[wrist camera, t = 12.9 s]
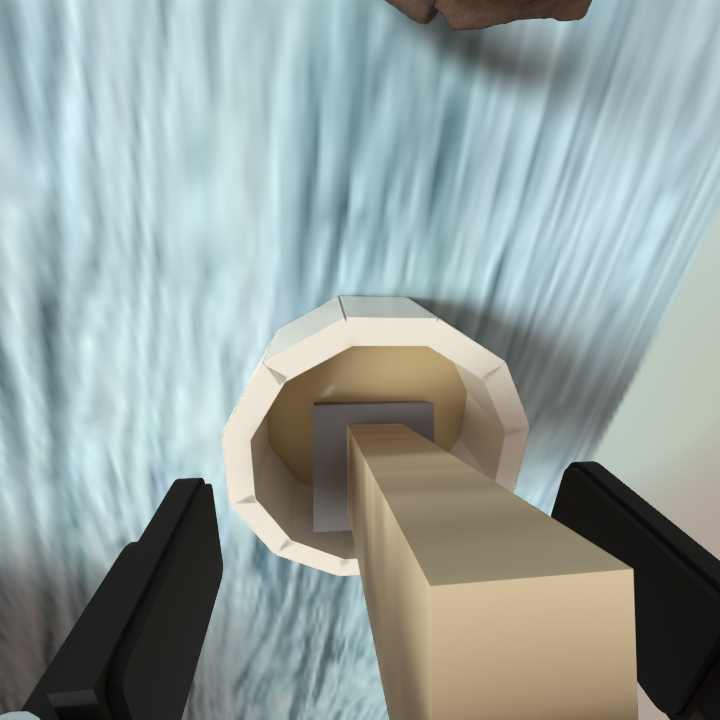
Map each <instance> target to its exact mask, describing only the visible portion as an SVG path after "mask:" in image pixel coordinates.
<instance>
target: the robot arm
mask: <svg viewBox="0 0 720 720" xmlns="http://www.w3.org/2000/svg"><path fill="white" fill-rule="evenodd" d="M551 517H552V518H553V519H555V520H556V521H558V522H559V523H561V524H563V525H564V526H566V527H567V528H569V529H571V530H572V531H574V532H575V533H577V534H579V535H580V536H582V537H583V538H585V539H586V540H588V541H590V542H591V543H593V544H594V545H596V546H598V547H599V548H601V549H602V550H604V551H606V552H607V553H609V554H610V555H612V556H613V557H615V558H617V559H618V560H620V561H621V562H623V563H625V564H626V565H628V566H629V567H631V568H633V576H634V606H635V636H636V667H637V682H638V683H639V684H640V686H641V687H642V688H643V690H644V691H645V693H646V694H647V696H648V697H649V698H650V700H651V701H652V702H653V703H654V705H655V706H656V707H657V708H658V709H659V710H660V711H662V712H663V713H666V715H667V716H668V718H669V719H670V720H720V561H719V560H718V559H717V558H715V557H714V556H713V555H712V554H711V553H709V552H708V551H707V550H706V549H704V548H703V547H702V546H701V545H699V544H698V543H697V542H696V541H694V540H693V539H692V538H691V537H689V536H688V535H687V534H686V533H685V532H683V531H682V530H681V529H680V528H678V527H677V526H676V525H674V524H673V523H672V522H671V521H670V520H668V519H667V518H666V517H665V516H663V515H662V514H661V513H660V512H659V511H657V510H656V509H655V508H654V507H652V506H651V505H650V504H649V503H648V502H646V501H645V500H644V499H643V498H641V497H640V496H639V495H637V494H636V493H635V492H634V491H633V490H631V489H630V488H629V487H628V486H626V485H625V484H624V483H623V482H621V481H620V480H619V479H618V478H617V477H615V476H614V475H613V474H612V473H610V472H609V471H608V470H607V469H605V468H604V467H603V466H602V465H600V464H599V463H597V462H594V461H589V462H573V463H571V464H570V465H569V467H568V468H567V469H566V470H565V471H564V474H563V477H562V480H561V484H560V487H559V490H558V494H557V497H556V500H555V504H554V507H553V510H552V514H551ZM222 573H223V561H222V553H221V546H220V539H219V532H218V525H217V517H216V510H215V503H214V496H213V489H212V485H211V484H205V482H204V480H203V478H187V479H177V480H175V481H174V483H173V484H172V486H171V487H170V489H169V491H168V492H167V494H166V496H165V498H164V499H163V501H162V503H161V504H160V506H159V508H158V509H157V511H156V513H155V514H154V516H153V518H152V519H151V521H150V523H149V524H148V526H147V528H146V529H145V531H144V533H143V534H142V536H141V538H140V539H139V541H138V542H131V543H129V544H128V545H127V546H126V547H125V548H124V549H123V551H122V552H121V553H120V555H119V556H118V558H117V559H116V561H115V563H114V564H113V566H112V567H111V569H110V570H109V572H108V574H107V575H106V577H105V578H104V580H103V582H102V583H101V585H100V586H99V588H98V589H97V591H96V593H95V594H94V596H93V597H92V599H91V601H90V602H89V604H88V605H87V607H86V608H85V610H84V612H83V613H82V615H81V616H80V618H79V620H78V621H77V623H76V624H75V626H74V627H73V629H72V631H71V632H70V634H69V635H68V637H67V638H66V640H65V642H64V643H63V645H62V646H61V648H60V650H59V651H58V653H57V654H56V656H55V657H54V659H53V661H52V662H51V664H50V665H49V667H48V669H47V670H46V672H45V673H44V675H43V676H42V678H41V680H40V681H39V683H38V684H37V686H36V688H35V689H34V691H33V692H32V694H31V695H30V697H29V699H28V700H27V702H26V703H25V705H24V706H23V708H22V710H21V711H20V712H9V713H6V714H3V715H0V720H181V718H182V715H183V711H184V708H185V705H186V701H187V698H188V694H189V691H190V687H191V684H192V680H193V677H194V673H195V670H196V666H197V663H198V659H199V656H200V652H201V649H202V645H203V642H204V639H205V635H206V632H207V628H208V625H209V621H210V618H211V614H212V611H213V607H214V604H215V600H216V597H217V593H218V590H219V586H220V583H221V579H222Z"/></svg>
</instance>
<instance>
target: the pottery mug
mask: <svg viewBox="0 0 720 720" xmlns="http://www.w3.org/2000/svg"><path fill="white" fill-rule="evenodd" d="M385 1H387V2H388V3H389V4H391V5H393V6H394V7H396V8H397V9H398V10H400V11H401V12H403V13H404V14H406V15H407V16H408V17H409V18H411V19H412V20H414V21H416V22H418V23H422V24H427V23H429V22H430V21H431V20H432V19H433V18H434V17H435V16H436V14H437V13H438V12H439V11H440V12H441V14H442V15H443V16H444V18H445V20H446V21H447V23H448V25H449V26H450V27H451V28H453V29H455V30H472V29H482V28H488V27H490V26H493V25H498V24H506V23H509V22H512V21H515V20H524V19H538V18H540V19H546V18H554V19H556V20H557V21H572V20H580V19H582V18H583V17H584V16H585V15H586V13H587V11H588V8H589V6H590V4H591V2H592V0H385Z"/></svg>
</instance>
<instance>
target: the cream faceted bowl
mask: <svg viewBox="0 0 720 720" xmlns="http://www.w3.org/2000/svg"><path fill="white" fill-rule="evenodd" d="M377 401H426V402H430V403H434V444H436V445H437V446H439V447H440V448H442V449H444V450H445V451H447V452H448V453H450V454H451V455H453V456H455V457H456V458H458V459H459V460H461V461H463V462H464V463H466V464H467V465H469V466H471V467H472V468H474V469H475V470H477V471H478V472H480V473H482V474H483V475H485V476H486V477H488V478H490V479H491V480H493V481H494V482H496V483H498V484H499V485H501V486H502V487H504V488H505V489H507V490H509V491H510V492H512V493H513V492H514V489H515V487H516V482H517V478H518V474H519V470H520V466H521V462H522V458H523V454H524V450H525V446H526V441H527V437H528V433H529V429H530V427H529V426H530V424H529V422H528V419H527V416H526V414H525V411H524V409H523V406H522V403H521V401H520V398H519V395H518V393H517V390H516V388H515V385H514V382H513V380H512V377H511V374H510V372H509V369H508V366H507V364H506V362H505V361H504V360H502V359H501V358H499V357H498V356H496V355H495V354H493V353H492V352H490V351H489V350H487V349H486V348H484V347H483V346H481V345H480V344H478V343H477V342H475V341H474V340H472V339H471V338H469V337H468V336H466V335H465V334H463V333H462V332H460V331H459V330H457V329H456V328H454V327H453V326H451V325H449V324H448V323H446V322H445V321H443V320H442V319H440V318H439V317H437V316H436V315H434V314H432V313H431V312H429V311H428V310H426V309H425V308H423V307H422V306H420V305H419V304H417V303H416V302H414V301H412V300H411V299H409V298H407V297H374V296H339V298H338V296H337V297H335V298H333V299H332V300H330V301H328V302H326V303H324V304H323V305H321V306H319V307H317V308H315V309H314V310H312V311H310V312H308V313H306V314H305V315H303V316H301V317H299V318H297V319H296V320H294V321H292V322H290V323H288V324H286V325H285V326H283V327H281V328H279V329H278V331H276V333H275V335H274V337H273V338H272V340H271V342H270V344H269V345H268V347H267V349H266V351H265V352H264V354H263V356H262V358H261V360H260V361H259V363H258V365H257V367H256V368H255V370H254V372H253V374H252V376H251V377H250V379H249V381H248V383H247V384H246V386H245V388H244V390H243V392H242V394H241V396H240V398H239V400H238V402H237V404H236V406H235V408H234V410H233V412H232V414H231V416H230V418H229V420H228V422H227V424H226V426H225V428H224V430H223V432H222V436H221V437H222V446H223V454H224V462H225V471H226V479H227V487H228V496H229V504H231V505H230V506H231V507H232V508H233V509H234V510H235V512H236V513H237V514H238V515H239V516H240V517H241V518H242V519H243V520H244V521H245V522H246V524H247V525H248V526H249V527H250V528H251V529H252V530H253V531H254V532H255V533H256V535H257V536H258V537H259V538H260V539H261V540H262V541H263V542H264V543H265V544H266V545H267V547H268V548H269V549H270V550H271V551H272V552H273V553H274V554H275V553H276V555H278V556H281V557H284V558H287V559H290V560H293V561H296V562H299V563H302V564H304V565H307V566H310V567H313V568H316V569H319V570H322V571H325V572H328V573H331V574H334V575H337V576H338V575H339V574H340V576H348V575H360V570H359V565H358V560H357V555H356V550H355V545H354V540H353V535H352V530H345V531H329V532H313V405H314V403H316V402H377Z"/></svg>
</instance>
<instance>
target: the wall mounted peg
mask: <svg viewBox="0 0 720 720" xmlns="http://www.w3.org/2000/svg"><path fill="white" fill-rule="evenodd" d="M345 530H352V535H353V540H354V545H355V550H356V555H357V560H358V565H359V570H360V575H361V580H362V585H363V590H364V595H365V600H366V605H367V610H368V615H369V620H370V625H371V630H372V635H373V640H374V645H375V650H376V655H377V660H378V665H379V670H380V675H381V680H382V685H383V690H384V695H385V700H386V705H387V710H388V715H389V720H638V698H637V667H636V636H635V606H634V576H633V568H631V567H629V566H628V565H626V564H625V563H623V562H621V561H620V560H618V559H617V558H615V557H613V556H612V555H610V554H609V553H607V552H606V551H604V550H602V549H601V548H599V547H598V546H596V545H594V544H593V543H591V542H590V541H588V540H586V539H585V538H583V537H582V536H580V535H579V534H577V533H575V532H574V531H572V530H571V529H569V528H567V527H566V526H564V525H563V524H561V523H559V522H558V521H556V520H555V519H553V518H552V517H550V516H548V515H547V514H545V513H544V512H542V511H540V510H539V509H537V508H536V507H534V506H532V505H531V504H529V503H528V502H526V501H525V500H523V499H521V498H520V497H518V496H517V495H515V494H513V493H512V492H510V491H509V490H507V489H505V488H504V487H502V486H501V485H499V484H498V483H496V482H494V481H493V480H491V479H490V478H488V477H486V476H485V475H483V474H482V473H480V472H478V471H477V470H475V469H474V468H472V467H471V466H469V465H467V464H466V463H464V462H463V461H461V460H459V459H458V458H456V457H455V456H453V455H451V454H450V453H448V452H447V451H445V450H444V449H442V448H440V447H439V446H437V445H436V444H434V403H430V402H426V401H377V402H316V403H314V405H313V532H329V531H345Z"/></svg>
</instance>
